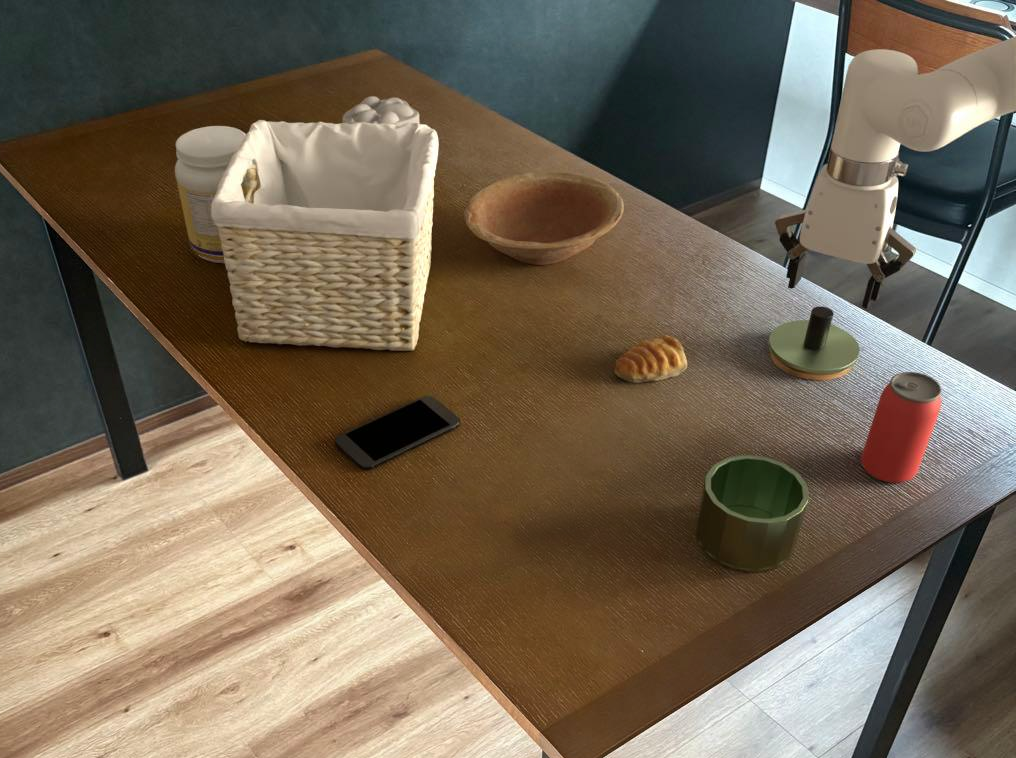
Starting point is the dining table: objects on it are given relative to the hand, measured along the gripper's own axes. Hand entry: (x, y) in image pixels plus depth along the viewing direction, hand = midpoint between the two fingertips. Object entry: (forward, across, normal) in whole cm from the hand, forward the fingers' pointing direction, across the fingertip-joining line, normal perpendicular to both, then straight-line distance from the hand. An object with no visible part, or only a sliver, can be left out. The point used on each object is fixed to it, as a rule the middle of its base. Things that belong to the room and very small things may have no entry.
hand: (830, 293), depth 139 cm
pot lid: (+8, +1, 0) cm, 9 cm away
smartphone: (+9, +39, +43) cm, 58 cm away
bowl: (+9, +46, -6) cm, 47 cm away
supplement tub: (+8, +88, +18) cm, 90 cm away
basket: (+9, +63, +22) cm, 67 cm away
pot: (+10, -5, +38) cm, 39 cm away
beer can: (+10, -15, +18) cm, 25 cm away
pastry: (+10, +18, +14) cm, 24 cm away
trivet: (+10, +1, 0) cm, 10 cm away
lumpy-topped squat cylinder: (+8, +87, -21) cm, 90 cm away
